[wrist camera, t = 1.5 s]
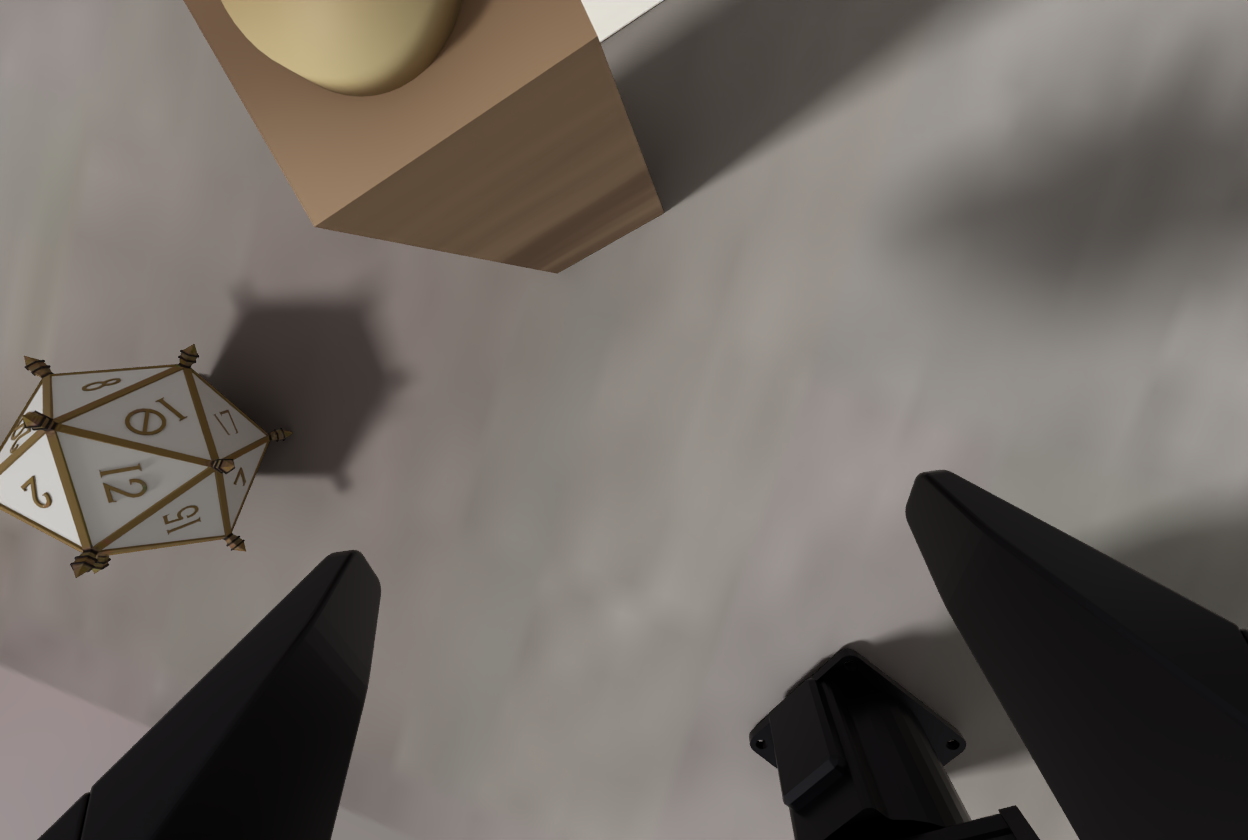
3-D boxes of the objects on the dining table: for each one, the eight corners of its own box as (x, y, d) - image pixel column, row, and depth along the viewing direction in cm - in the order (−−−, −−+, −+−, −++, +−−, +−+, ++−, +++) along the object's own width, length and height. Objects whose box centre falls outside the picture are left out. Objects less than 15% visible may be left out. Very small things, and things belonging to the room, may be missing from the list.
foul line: (746, -121, 16) (746, -123, 16) (767, -70, 16) (767, -71, 16) (319, 177, 20) (318, 177, 20) (341, 216, 20) (340, 215, 20)
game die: (267, 432, 27) (-25, 486, 21) (258, 295, 22) (-132, 307, 16) (326, 563, 24) (-10, 682, 17) (330, 432, 19) (-149, 527, 12)
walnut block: (664, 213, 19) (587, 8, 6) (557, 273, 20) (280, 220, 7) (606, 90, 18) (366, -465, 5) (499, 160, 19) (64, -148, 6)
